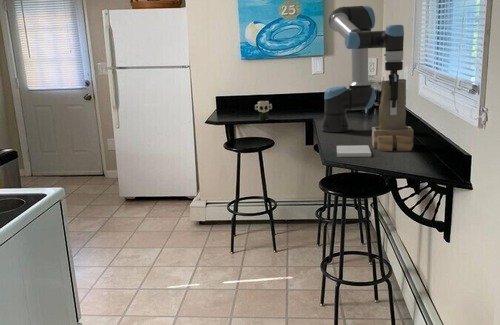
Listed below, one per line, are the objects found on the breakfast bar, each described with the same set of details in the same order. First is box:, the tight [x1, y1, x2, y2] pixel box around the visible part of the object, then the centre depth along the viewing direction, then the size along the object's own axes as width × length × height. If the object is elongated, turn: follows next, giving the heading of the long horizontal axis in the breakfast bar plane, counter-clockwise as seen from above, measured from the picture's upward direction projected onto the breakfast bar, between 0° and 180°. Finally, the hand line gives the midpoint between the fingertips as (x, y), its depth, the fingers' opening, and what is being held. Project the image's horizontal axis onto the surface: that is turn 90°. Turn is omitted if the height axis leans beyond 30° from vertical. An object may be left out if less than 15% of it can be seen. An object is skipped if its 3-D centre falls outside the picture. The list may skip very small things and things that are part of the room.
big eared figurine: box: [254, 100, 273, 121], centre depth 305 cm, size 11×7×13 cm, turn 92°
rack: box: [371, 125, 414, 149], centre depth 217 cm, size 10×17×8 cm, turn 81°
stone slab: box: [378, 78, 407, 130], centre depth 215 cm, size 12×4×30 cm, turn 97°
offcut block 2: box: [395, 135, 413, 152], centre depth 208 cm, size 4×6×6 cm, turn 81°
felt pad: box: [336, 144, 372, 158], centre depth 207 cm, size 16×14×2 cm
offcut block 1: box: [376, 136, 394, 152], centre depth 210 cm, size 4×6×6 cm, turn 81°
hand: (392, 114), depth 215 cm, fingers closed on stone slab, 4 cm apart
